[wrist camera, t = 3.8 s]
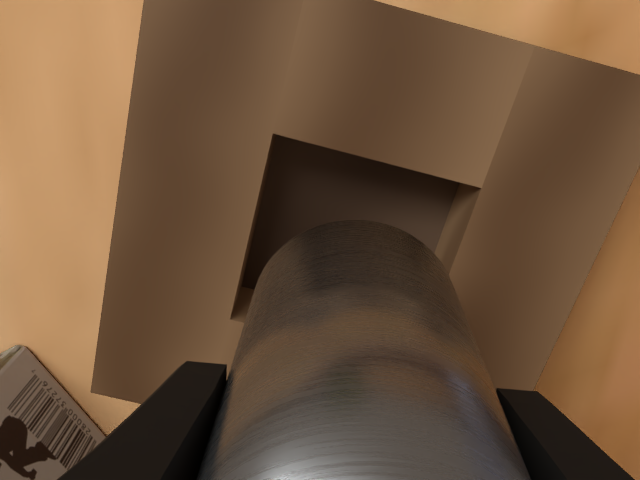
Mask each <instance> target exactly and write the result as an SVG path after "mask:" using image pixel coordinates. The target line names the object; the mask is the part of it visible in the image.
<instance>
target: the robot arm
mask: <svg viewBox="0 0 640 480" xmlns="http://www.w3.org/2000/svg"><path fill="white" fill-rule="evenodd" d="M226 379H227V364H217V363H205V362H194V361H186V362H185V363H183V364H182V365H181V366H179V367H178V368H177V369H176V370H175V371H174V372H173V373H172V374H171V375H170V376H169V377H168V378H167V379H166V380H165V381H164V382H163V383H162V384H161V385H160V387H159V388H158V389H157V390H155V391H154V392H153V393H152V394H151V395H150V396H149V397H148V398H147V399H146V400H145V401H144V402H143V403H142V404H141V405H140V406H139V407H138V408H137V409H136V410H135V411H134V412H133V413H132V414H131V415H130V416H129V417H128V418H127V419H125V420H124V421H123V422H122V423H121V424H120V425H119V426H118V427H117V428H116V429H115V430H113V431H112V432H111V433H110V434H109V435H108V436H107V437H106V438H105V439H104V440H103V441H101V442H100V443H99V444H98V445H97V446H96V447H95V448H94V449H93V450H91V451H90V452H89V453H88V454H87V455H86V456H85V457H83V458H82V459H81V460H80V461H79V462H77V463H76V464H75V465H74V466H73V467H71V468H70V469H69V470H68V471H66V472H65V473H64V474H63V475H62V476H60V477H59V478H58V479H57V480H196V479H197V476H198V472H199V469H200V466H201V463H202V459H203V456H204V453H205V449H206V446H207V443H208V440H209V436H210V433H211V430H212V427H213V423H214V420H215V417H216V414H217V410H218V407H219V404H220V401H221V397H222V394H223V391H224V388H225V384H226ZM496 393H497V396H498V398H499V401H500V403H501V406H502V408H503V411H504V413H505V416H506V418H507V420H508V423H509V425H510V428H511V430H512V433H513V435H514V438H515V440H516V443H517V445H518V448H519V450H520V453H521V455H522V458H523V460H524V463H525V465H526V468H527V470H528V473H529V475H530V478H531V480H634V479H633V478H632V477H631V476H630V475H629V474H628V473H627V472H625V471H624V470H623V469H622V468H621V467H620V466H619V465H618V464H617V463H616V462H614V461H613V460H612V459H611V458H610V457H609V456H608V455H607V454H606V453H605V452H604V451H603V450H601V449H600V448H599V447H598V446H597V445H596V444H595V443H594V442H593V441H592V440H591V439H590V438H589V437H587V436H586V435H585V434H584V433H583V432H582V431H581V430H580V429H579V428H578V427H577V426H576V425H575V424H573V423H572V422H571V421H570V420H569V419H568V418H567V417H566V416H565V415H564V414H563V413H562V412H560V411H559V410H558V409H557V408H556V407H555V406H554V405H553V404H552V403H550V402H549V401H548V400H547V399H546V398H545V397H543V396H542V395H541V394H540V393H539V392H537V391H526V390H515V389H503V388H497V389H496Z"/></svg>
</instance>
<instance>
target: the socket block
mask: <svg viewBox="0 0 640 480" xmlns="http://www.w3.org/2000/svg"><path fill="white" fill-rule="evenodd" d="M639 166H640V75H638V74H635V73H631V72H627V71H624V70H620V69H617V68H613V67H610V66H606V65H602V64H599V63H595V62H592V61H588V60H585V59H581V58H577V57H574V56H570V55H567V54H563V53H560V52H556V51H552V50H549V49H545V48H542V47H538V46H535V45H531V44H527V43H524V42H520V41H517V40H513V39H510V38H506V37H502V36H499V35H495V34H492V33H488V32H484V31H481V30H477V29H474V28H470V27H467V26H463V25H459V24H456V23H452V22H449V21H445V20H442V19H438V18H434V17H431V16H427V15H424V14H420V13H417V12H413V11H409V10H406V9H402V8H399V7H395V6H392V5H388V4H384V3H381V2H377V1H374V0H144V3H143V10H142V18H141V25H140V32H139V40H138V47H137V54H136V62H135V69H134V77H133V84H132V91H131V99H130V106H129V113H128V121H127V128H126V135H125V143H124V150H123V158H122V165H121V172H120V180H119V187H118V194H117V202H116V209H115V216H114V224H113V231H112V239H111V246H110V253H109V261H108V268H107V275H106V283H105V290H104V297H103V305H102V312H101V320H100V327H99V334H98V342H97V349H96V356H95V364H94V371H93V378H92V386H91V393H96V394H100V395H104V396H109V397H113V398H118V399H122V400H126V401H131V402H135V403H139V404H142V403H143V402H144V401H145V400H146V399H147V398H148V397H149V396H150V395H151V394H152V393H153V392H154V391H155V390H157V389H158V388H159V387H160V385H161V384H162V383H163V382H164V381H165V380H166V379H167V378H168V377H169V376H170V375H171V374H172V373H173V372H174V371H175V370H176V369H177V368H178V367H179V366H181V365H182V364H183V363H185V362H186V361H194V362H205V363H217V364H227V378H228V375H229V371H230V368H231V365H232V362H233V358H234V355H235V352H236V348H237V345H238V342H239V339H240V335H241V332H242V329H243V326H244V322H245V319H246V316H247V313H248V309H249V306H250V303H251V300H252V296H253V293H254V290H255V287H256V284H257V281H258V279H259V276H260V275H261V273H262V271H263V269H264V267H265V266H266V264H267V263H268V261H269V260H270V259H271V257H272V256H273V255H274V254H275V253H276V252H277V251H278V250H279V249H280V248H281V247H282V246H283V245H284V244H286V243H287V242H288V241H290V240H291V239H292V238H294V237H296V236H297V235H299V234H301V233H302V232H304V231H307V230H309V229H311V228H313V227H316V226H319V225H323V224H326V223H330V222H336V221H342V220H366V221H374V222H379V223H383V224H387V225H390V226H393V227H396V228H399V229H401V230H403V231H405V232H407V233H409V234H411V235H412V236H414V237H415V238H417V239H418V240H420V241H421V242H423V243H424V244H425V245H426V246H427V247H428V248H429V249H430V250H431V251H433V253H434V254H435V255H436V256H437V257H438V259H439V260H440V261H441V262H442V264H443V266H444V267H445V269H446V270H447V272H448V274H449V277H450V279H451V281H452V284H453V286H454V289H455V291H456V294H457V296H458V299H459V301H460V303H461V306H462V308H463V311H464V313H465V316H466V318H467V321H468V323H469V326H470V328H471V331H472V333H473V336H474V338H475V341H476V343H477V346H478V348H479V351H480V353H481V356H482V358H483V361H484V363H485V366H486V368H487V371H488V373H489V376H490V378H491V381H492V383H493V386H494V388H495V391H496V389H497V388H503V389H515V390H526V391H533V390H534V388H535V386H536V384H537V382H538V379H539V377H540V375H541V373H542V371H543V369H544V367H545V365H546V363H547V360H548V358H549V356H550V354H551V352H552V350H553V348H554V346H555V344H556V341H557V339H558V337H559V335H560V333H561V331H562V329H563V327H564V325H565V322H566V320H567V318H568V316H569V314H570V312H571V310H572V308H573V306H574V303H575V301H576V299H577V297H578V295H579V293H580V291H581V289H582V287H583V284H584V282H585V280H586V278H587V276H588V274H589V272H590V270H591V268H592V265H593V263H594V261H595V259H596V257H597V255H598V253H599V251H600V249H601V246H602V244H603V242H604V240H605V238H606V236H607V234H608V232H609V230H610V227H611V225H612V223H613V221H614V219H615V217H616V215H617V213H618V211H619V208H620V206H621V204H622V202H623V200H624V198H625V196H626V194H627V192H628V189H629V187H630V185H631V183H632V181H633V179H634V177H635V175H636V173H637V170H638V168H639ZM226 381H227V379H226Z"/></svg>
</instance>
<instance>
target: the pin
mask: <svg viewBox="0 0 640 480" xmlns="http://www.w3.org/2000/svg"><path fill="white" fill-rule="evenodd" d="M196 480H531V478H530V475H529V473H528V470H527V468H526V465H525V463H524V460H523V458H522V455H521V453H520V450H519V448H518V445H517V443H516V440H515V438H514V435H513V433H512V430H511V428H510V425H509V423H508V420H507V418H506V416H505V413H504V411H503V408H502V406H501V403H500V401H499V398H498V396H497V393H496V391H495V388H494V386H493V383H492V381H491V378H490V376H489V373H488V371H487V368H486V366H485V363H484V361H483V358H482V356H481V353H480V351H479V348H478V346H477V343H476V341H475V338H474V336H473V333H472V331H471V328H470V326H469V323H468V321H467V318H466V316H465V313H464V311H463V308H462V306H461V303H460V301H459V299H458V296H457V294H456V291H455V289H454V286H453V284H452V281H451V279H450V277H449V274H448V272H447V270H446V269H445V267H444V266H443V264H442V262H441V261H440V260H439V259H438V257H437V256H436V255H435V254H434V253H433V251H431V250H430V249H429V248H428V247H427V246H426V245H425V244H424V243H423V242H421V241H420V240H418V239H417V238H415V237H414V236H412V235H411V234H409V233H407V232H405V231H403V230H401V229H399V228H396V227H393V226H390V225H387V224H383V223H379V222H374V221H366V220H342V221H336V222H330V223H326V224H323V225H319V226H316V227H313V228H311V229H309V230H307V231H304V232H302V233H301V234H299V235H297V236H296V237H294V238H292V239H291V240H290V241H288V242H287V243H286V244H284V245H283V246H282V247H281V248H280V249H279V250H278V251H277V252H276V253H275V254H274V255H273V256H272V257H271V259H270V260H269V261H268V263H267V264H266V266H265V267H264V269H263V271H262V273H261V275H260V276H259V279H258V281H257V284H256V287H255V290H254V293H253V296H252V300H251V303H250V306H249V309H248V313H247V316H246V319H245V322H244V326H243V329H242V332H241V335H240V339H239V342H238V345H237V348H236V352H235V355H234V358H233V362H232V365H231V368H230V371H229V375H228V378H227V381H226V384H225V388H224V391H223V394H222V397H221V401H220V404H219V407H218V410H217V414H216V417H215V420H214V423H213V427H212V430H211V433H210V436H209V440H208V443H207V446H206V449H205V453H204V456H203V459H202V463H201V466H200V469H199V472H198V476H197V479H196Z"/></svg>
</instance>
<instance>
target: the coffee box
mask: <svg viewBox="0 0 640 480" xmlns="http://www.w3.org/2000/svg"><path fill="white" fill-rule="evenodd" d="M105 438H106V436H105V435H104V434H103V433H102V432H101V431H100V430H99V428H98V427H97V426H96V425H95V424H94V423H93V422H92V421H91V419H90V418H89V417H88V416H87V415H86V414H85V413H84V411H83V410H82V409H81V408H80V407H79V406H78V405H77V404H76V402H75V401H74V400H73V399H72V398H71V397H70V396H69V395H68V393H67V392H66V391H65V390H64V389H63V388H62V387H61V386H60V385H59V383H58V382H57V381H56V380H55V379H54V378H53V377H52V375H51V374H50V373H49V372H48V371H47V370H46V369H45V368H44V367H43V366H42V365H41V363H40V362H39V361H38V360H37V359H36V358H35V356H34V355H33V354H32V353H31V352H30V351H29V350H28V349H27V348H26V347H25V346H21V345H15V346H13V347H12V348H10V349H8V350H6V351H4V352H2V353H1V354H0V480H57V479H58V478H59V477H60V476H62V475H63V474H64V473H65V472H66V471H68V470H69V469H70V468H71V467H73V466H74V465H75V464H76V463H77V462H79V461H80V460H81V459H82V458H83V457H85V456H86V455H87V454H88V453H89V452H90V451H91V450H93V449H94V448H95V447H96V446H97V445H98V444H99V443H100V442H101V441H103V440H104V439H105Z"/></svg>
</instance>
